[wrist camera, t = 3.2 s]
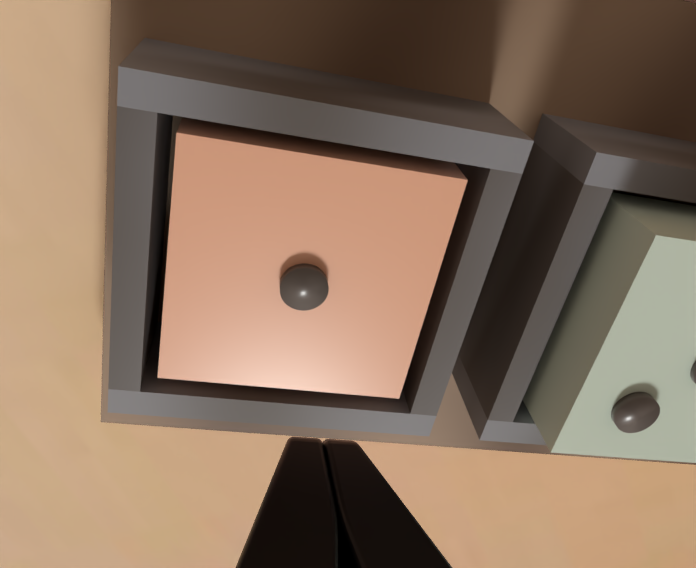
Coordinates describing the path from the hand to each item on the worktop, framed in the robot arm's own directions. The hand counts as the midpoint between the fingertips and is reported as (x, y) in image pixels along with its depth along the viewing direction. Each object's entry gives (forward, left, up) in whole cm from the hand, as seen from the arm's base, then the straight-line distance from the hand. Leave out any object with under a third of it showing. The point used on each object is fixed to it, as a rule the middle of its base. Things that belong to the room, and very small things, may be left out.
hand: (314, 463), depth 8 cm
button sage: (-8, 0, -5) cm, 10 cm away
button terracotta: (0, 0, -7) cm, 7 cm away
